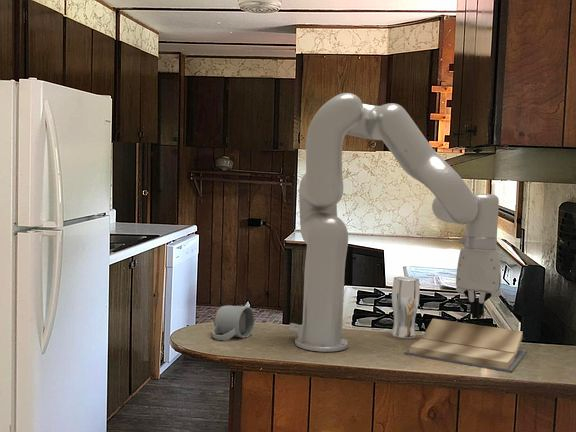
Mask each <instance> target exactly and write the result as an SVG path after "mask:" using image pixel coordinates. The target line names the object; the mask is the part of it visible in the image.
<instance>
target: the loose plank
mask: <svg viewBox="0 0 576 432" xmlns="http://www.w3.org/2000/svg"><path fill="white" fill-rule="evenodd" d="M523 334H524V333H523V331H521V330H516V329H515V330H514V329H509V328H501V327H495V326H488V325H480V324H474V323H467V322H458V321H453V320H452V321H451V320H445V319H438V318H432V319H431V321H430V322H429V324H428V326H427V328H426V329H425V332H424V333H423V336H422V337H421V339H427V340H434V341H440V342H446V343H452V344H459V345H465V346H471V347H478V348H484V349H490V350H497V351H503V352H509V353H515V358H516V356H517V353H518V349H519V350H520V346H521V343H522V340H523Z"/></svg>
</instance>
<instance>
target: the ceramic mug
mask: <svg viewBox="0 0 576 432" xmlns="http://www.w3.org/2000/svg"><path fill="white" fill-rule="evenodd" d="M213 325H214V327H213V328H212V331H211V333H212V337H213V339H214V338H215V339H214V340H216V339H217V340H216V341H219V340H223V341H227V340H230V339H232V338H233V337H236V338H239V339H240V338H241V339H246V338H245V337H247V336H248V337H249V336H251V334H252V333H253V331H254V328H255V314H254V311H253V309H252V307H250V306H247V305H246V306H244V305H223V306H220V307H219V308H218V309H217V310H216V311H215V313H214V317H213ZM217 333H220V334H217ZM248 337H247V338H248Z"/></svg>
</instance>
